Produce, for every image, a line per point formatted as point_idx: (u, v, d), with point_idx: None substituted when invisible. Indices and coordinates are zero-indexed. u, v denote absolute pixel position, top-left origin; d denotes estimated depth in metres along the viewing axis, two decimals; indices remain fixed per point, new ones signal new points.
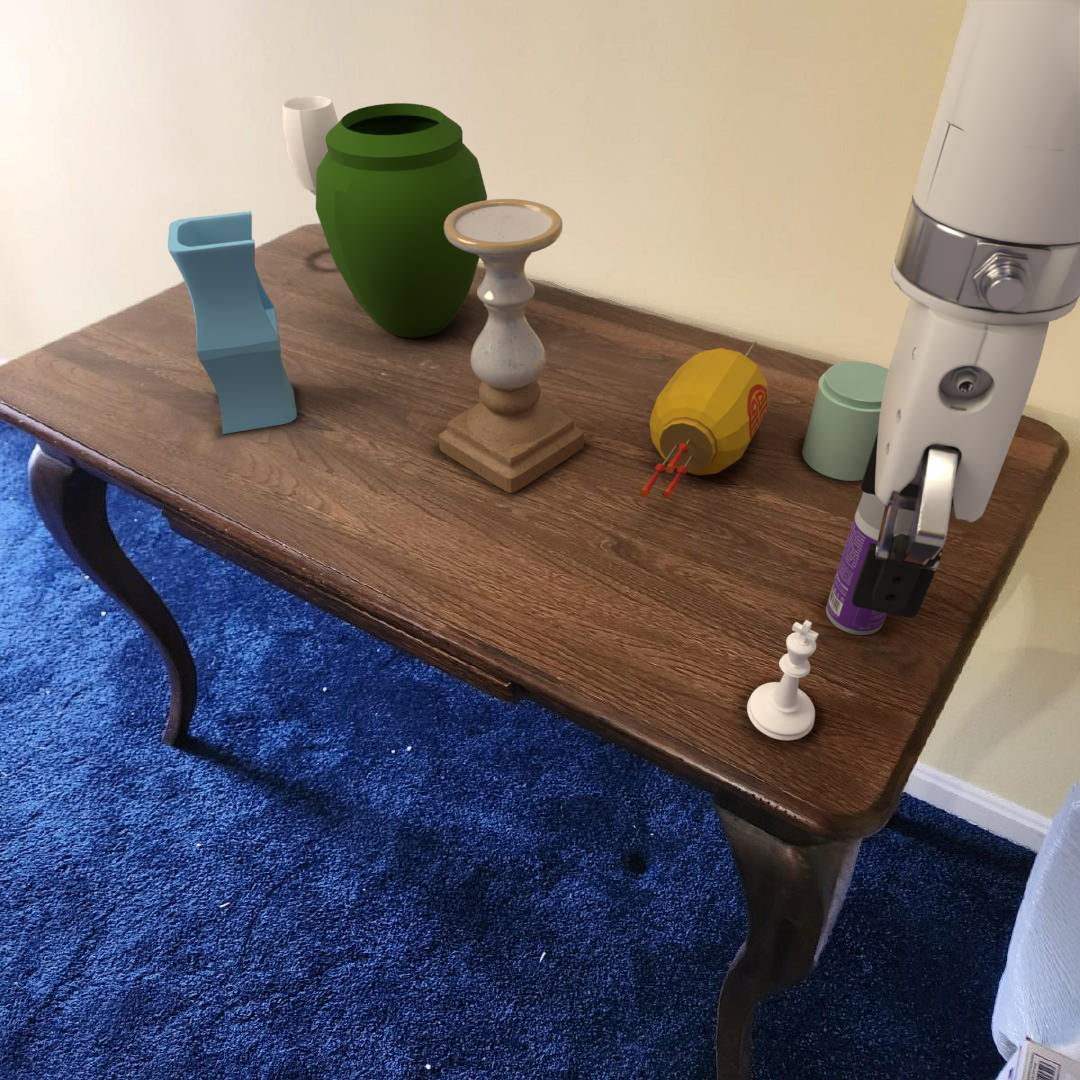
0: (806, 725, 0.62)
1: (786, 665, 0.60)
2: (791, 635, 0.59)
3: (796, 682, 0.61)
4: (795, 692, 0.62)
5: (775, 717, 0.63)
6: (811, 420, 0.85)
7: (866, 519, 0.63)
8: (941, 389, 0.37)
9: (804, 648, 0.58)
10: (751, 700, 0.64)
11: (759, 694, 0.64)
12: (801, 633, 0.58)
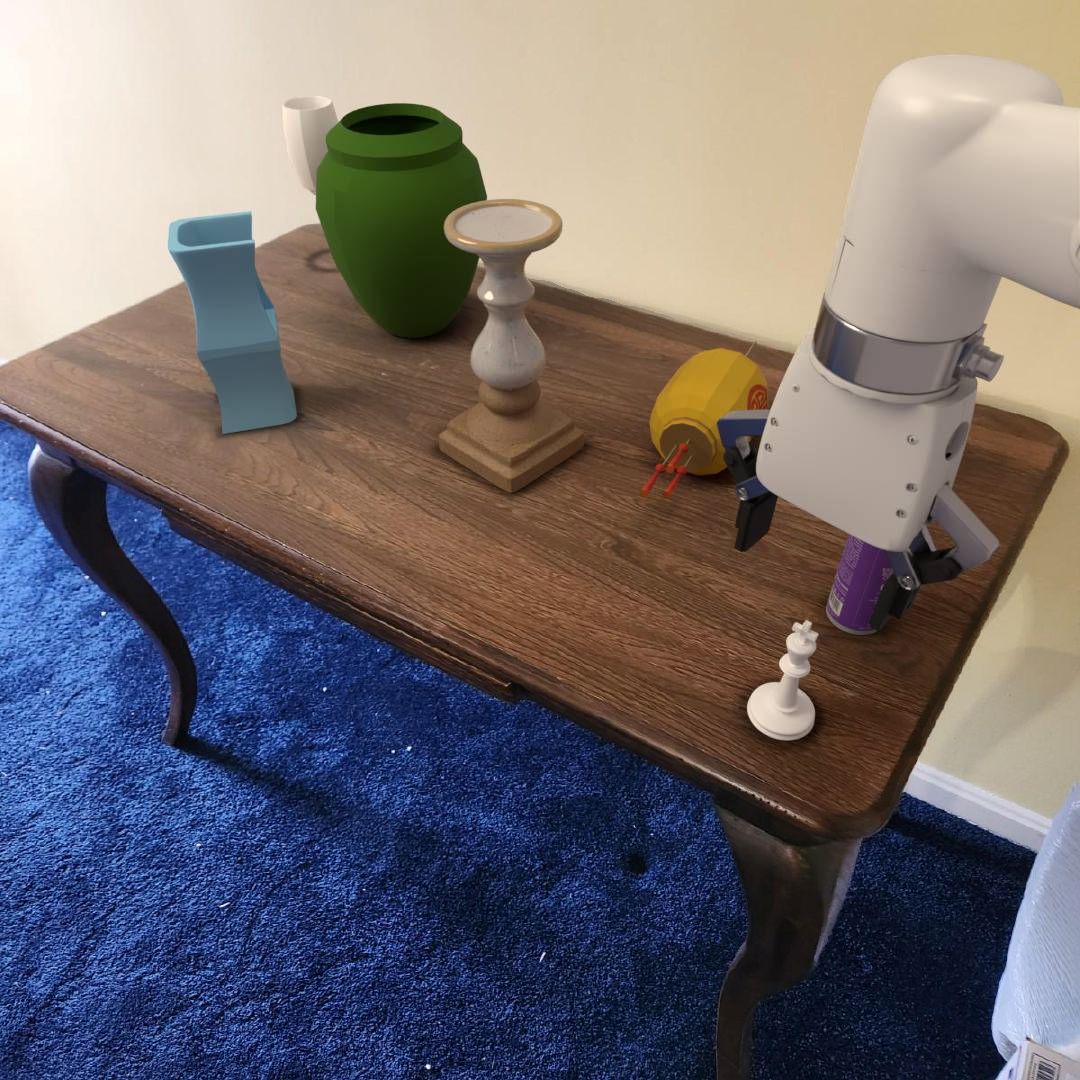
0: (806, 725, 0.62)
1: (786, 665, 0.60)
2: (791, 635, 0.59)
3: (796, 682, 0.61)
4: (795, 692, 0.62)
5: (775, 717, 0.63)
6: None
7: None
8: None
9: (804, 648, 0.58)
10: (751, 700, 0.64)
11: (759, 694, 0.64)
12: (801, 633, 0.58)
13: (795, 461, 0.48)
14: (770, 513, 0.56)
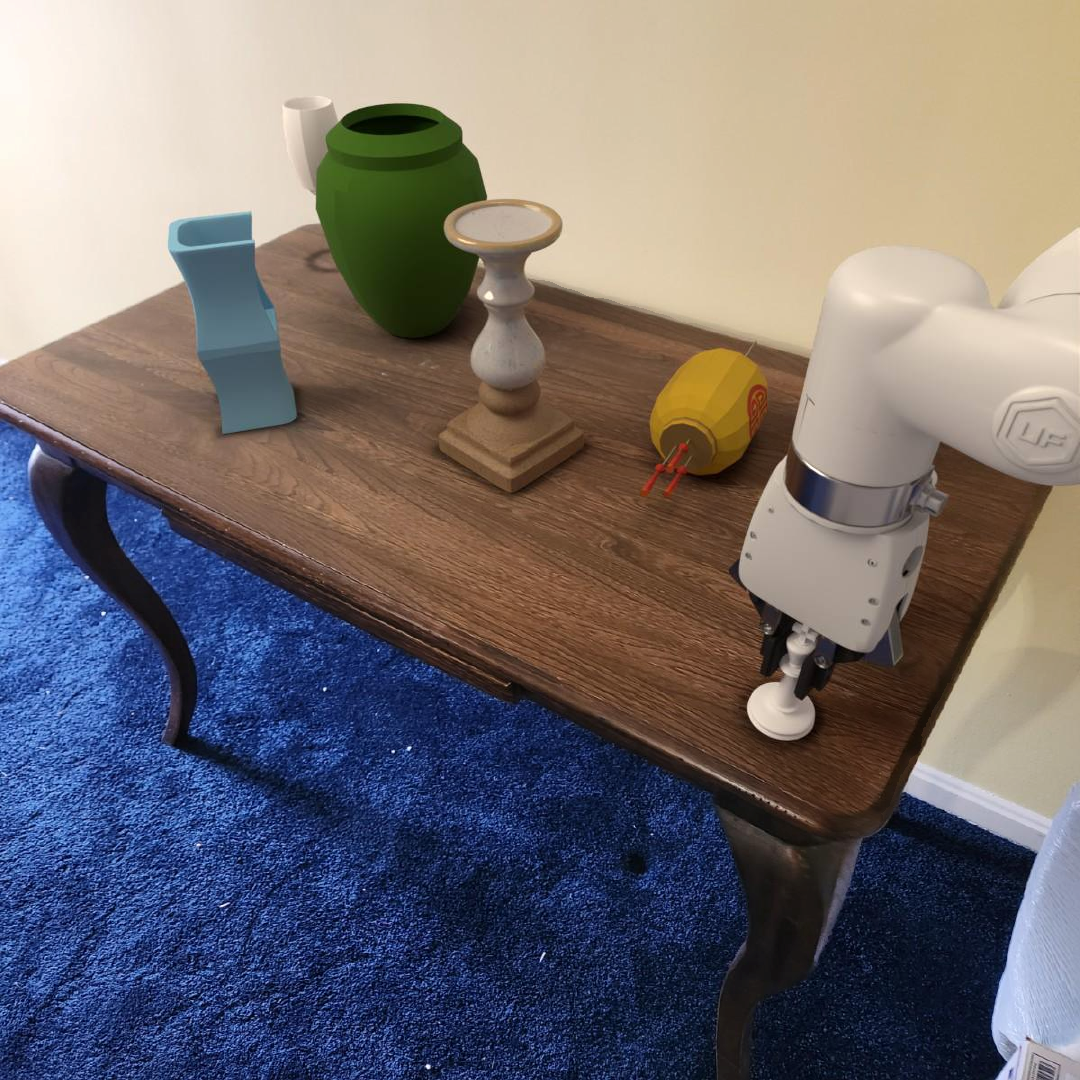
0: (806, 725, 0.62)
1: (786, 665, 0.60)
2: (791, 635, 0.59)
3: (796, 682, 0.61)
4: None
5: (775, 717, 0.63)
6: None
7: None
8: None
9: (804, 648, 0.58)
10: (751, 700, 0.64)
11: (759, 694, 0.64)
12: (801, 633, 0.58)
13: (772, 570, 0.54)
14: None
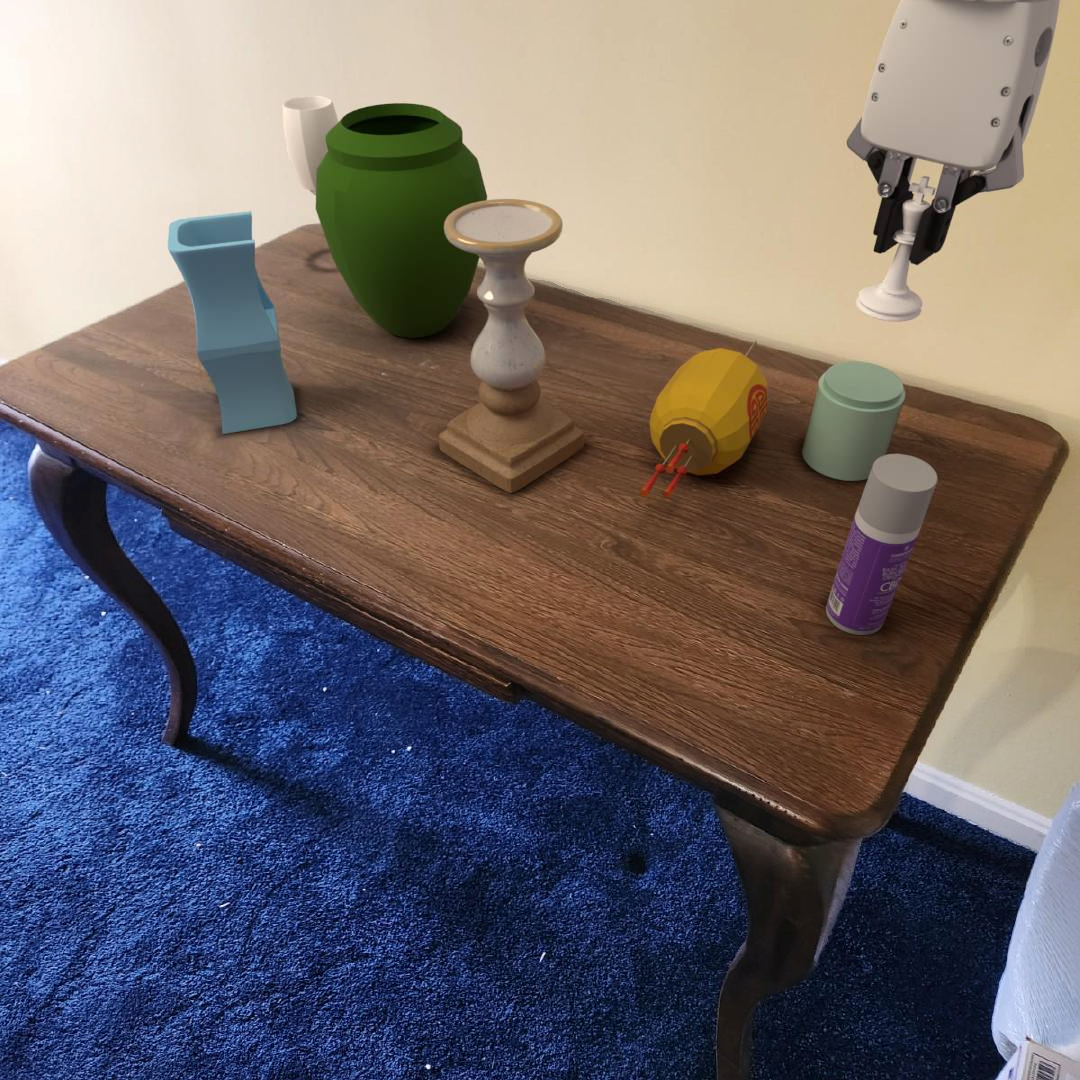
0: (915, 307, 0.66)
1: (900, 235, 0.64)
2: (907, 200, 0.63)
3: (908, 257, 0.65)
4: (906, 271, 0.65)
5: (886, 301, 0.66)
6: (811, 420, 0.85)
7: (866, 519, 0.63)
8: None
9: (921, 206, 0.62)
10: (860, 294, 0.68)
11: (868, 289, 0.68)
12: (918, 191, 0.62)
13: (900, 100, 0.57)
14: None
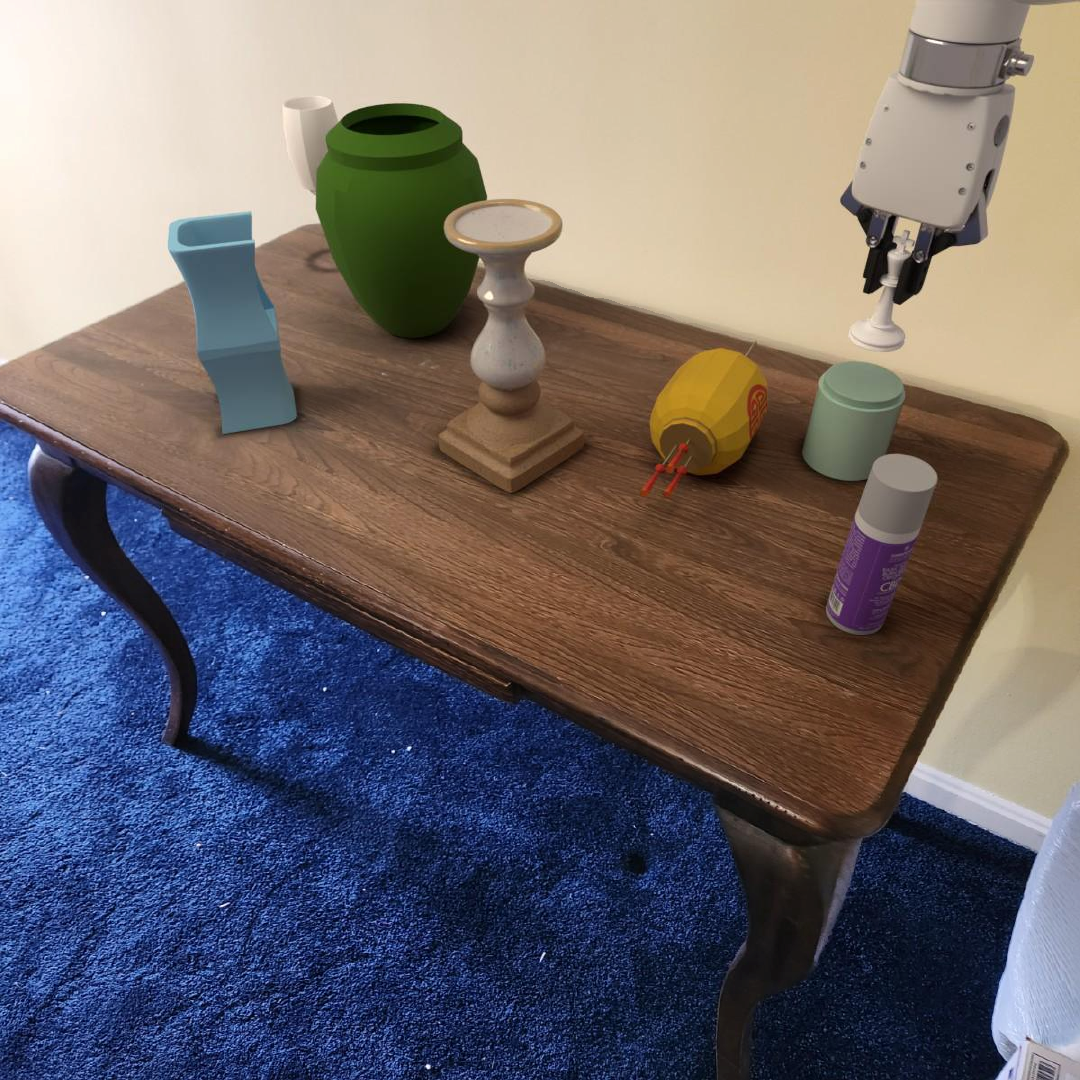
0: (899, 339, 0.77)
1: (886, 279, 0.74)
2: (891, 250, 0.73)
3: None
4: (891, 309, 0.76)
5: (873, 334, 0.77)
6: (811, 420, 0.85)
7: (866, 519, 0.63)
8: None
9: (903, 255, 0.72)
10: (852, 327, 0.78)
11: (858, 323, 0.78)
12: (901, 242, 0.72)
13: (884, 169, 0.68)
14: None
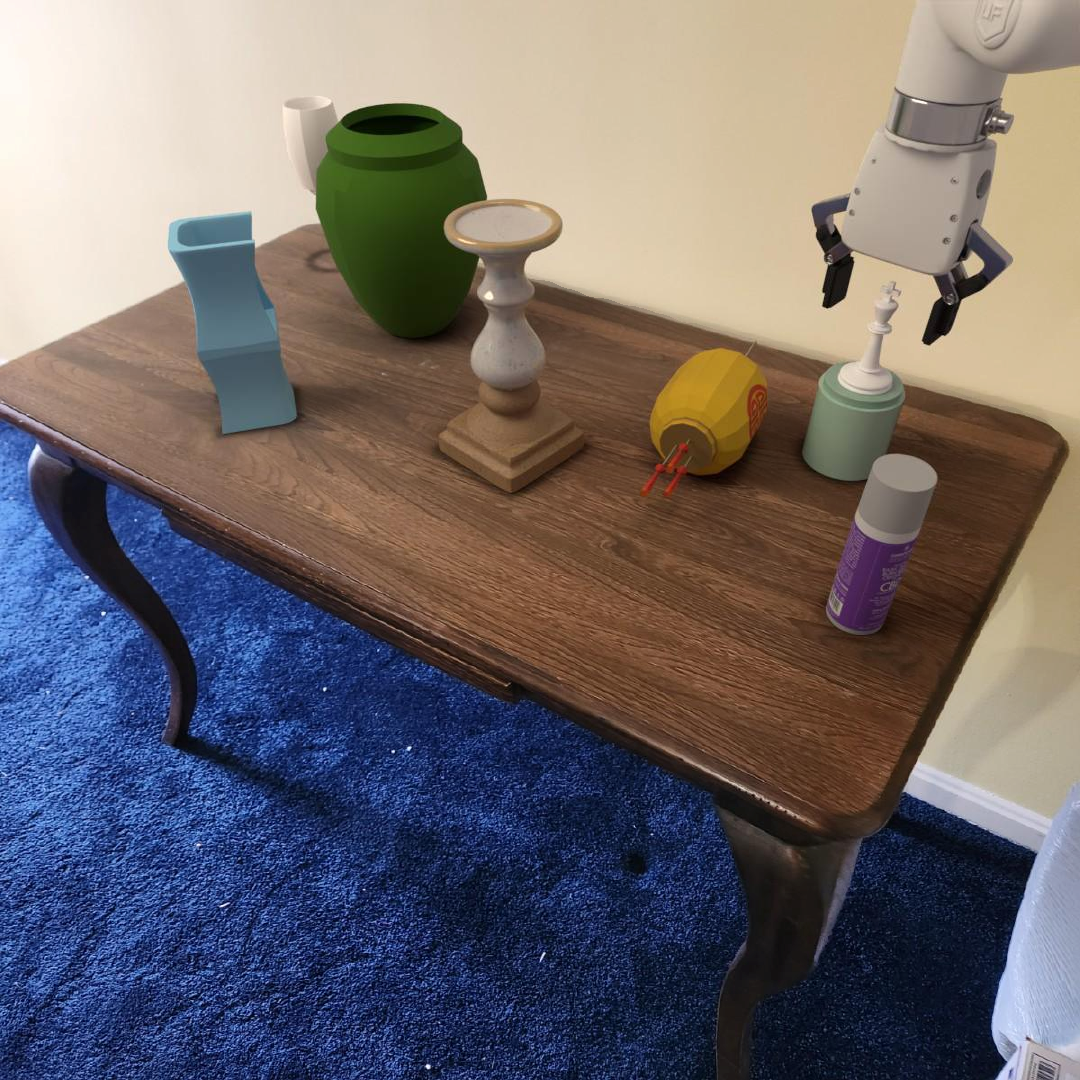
0: (886, 383, 0.80)
1: (873, 326, 0.77)
2: (878, 299, 0.76)
3: (880, 343, 0.78)
4: (878, 354, 0.79)
5: (862, 377, 0.80)
6: (811, 420, 0.85)
7: (866, 519, 0.63)
8: None
9: (889, 305, 0.75)
10: (841, 370, 0.81)
11: (848, 366, 0.81)
12: (887, 292, 0.75)
13: (871, 218, 0.71)
14: (847, 280, 0.79)
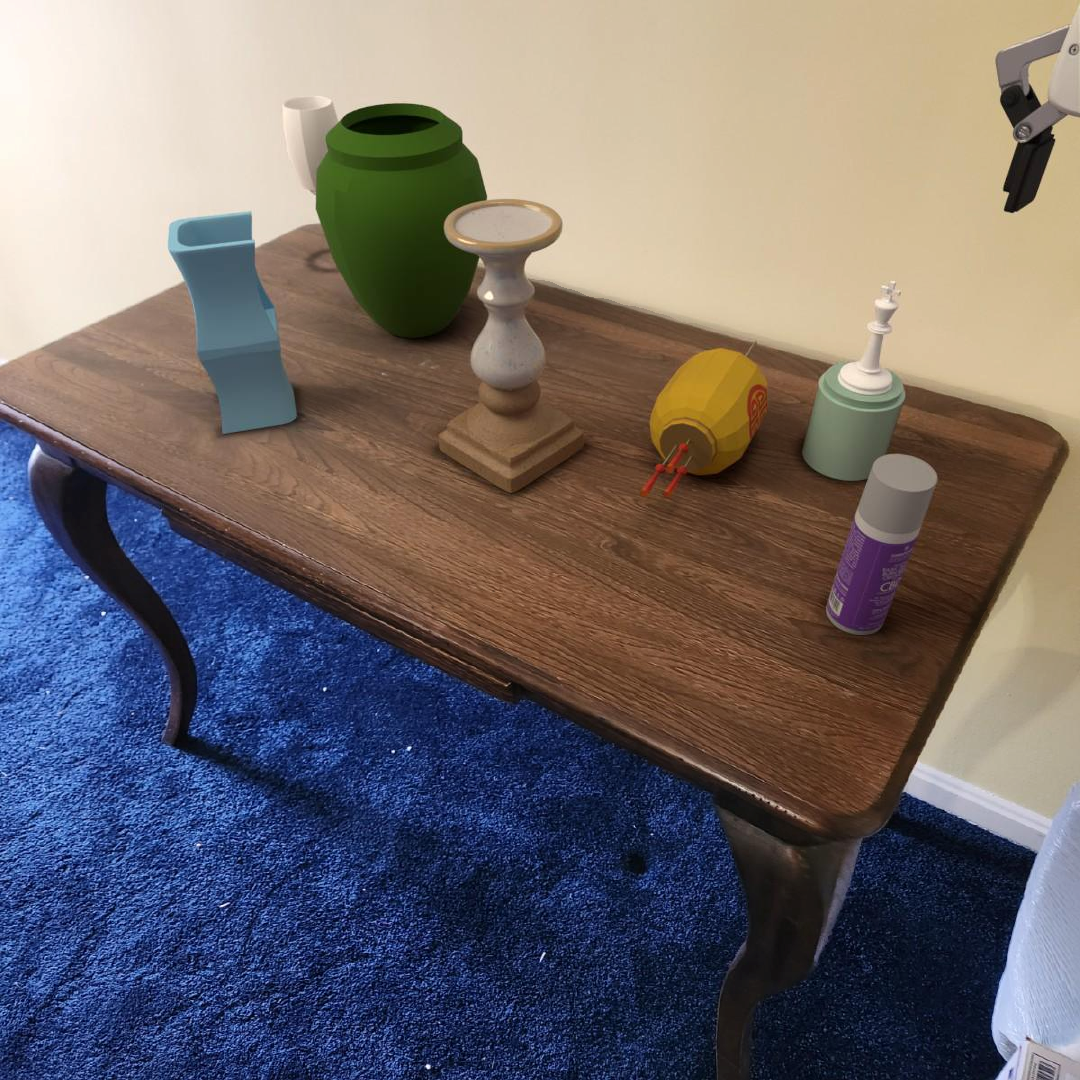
0: (886, 383, 0.80)
1: (873, 326, 0.77)
2: (878, 299, 0.76)
3: (880, 343, 0.78)
4: (878, 354, 0.79)
5: (862, 377, 0.80)
6: (811, 420, 0.85)
7: (866, 519, 0.63)
8: None
9: (889, 305, 0.75)
10: (841, 370, 0.81)
11: (848, 366, 0.81)
12: (887, 292, 0.75)
13: None
14: (1042, 170, 0.53)
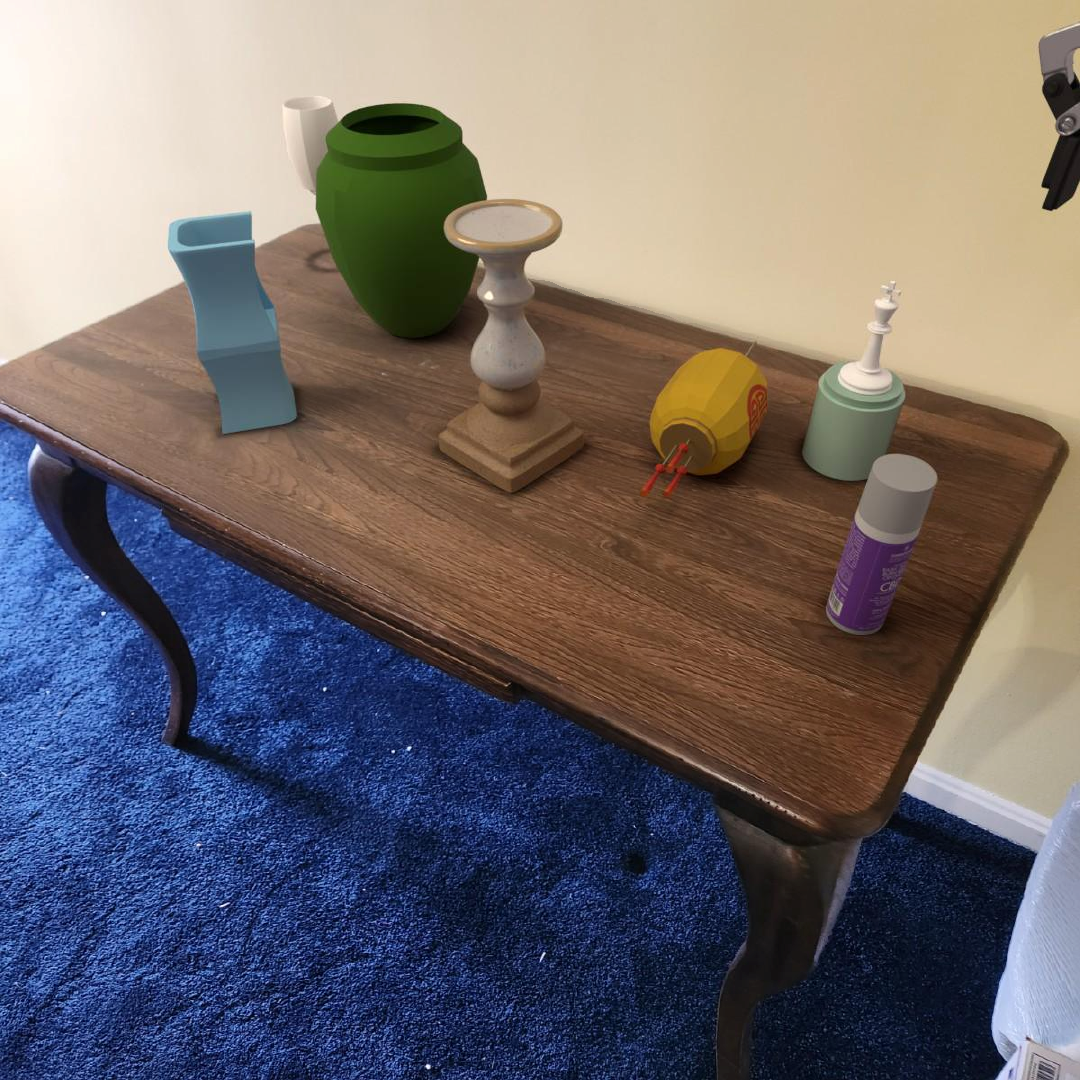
0: (886, 383, 0.80)
1: (873, 326, 0.77)
2: (878, 299, 0.76)
3: (880, 343, 0.78)
4: (878, 354, 0.79)
5: (862, 377, 0.80)
6: (811, 420, 0.85)
7: (866, 519, 0.63)
8: None
9: (889, 305, 0.75)
10: (841, 370, 0.81)
11: (848, 366, 0.81)
12: (887, 292, 0.75)
13: None
14: None
